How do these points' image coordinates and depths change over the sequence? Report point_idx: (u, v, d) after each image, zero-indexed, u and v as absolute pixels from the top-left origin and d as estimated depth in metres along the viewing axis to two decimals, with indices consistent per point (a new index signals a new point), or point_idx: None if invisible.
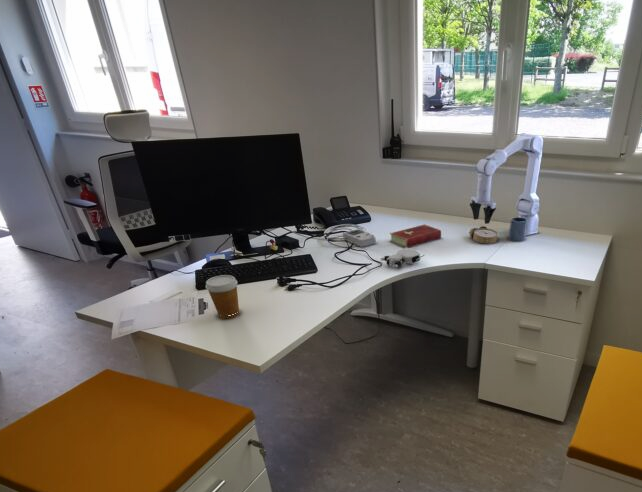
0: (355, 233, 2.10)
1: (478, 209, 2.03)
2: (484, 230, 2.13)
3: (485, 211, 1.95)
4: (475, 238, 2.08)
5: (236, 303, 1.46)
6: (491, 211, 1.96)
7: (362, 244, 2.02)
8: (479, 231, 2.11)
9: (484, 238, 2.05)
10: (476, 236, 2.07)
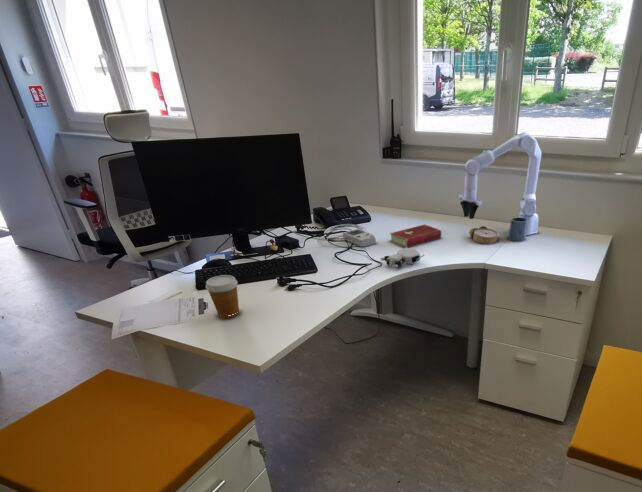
0: (355, 233, 2.10)
1: (468, 207, 2.16)
2: (484, 230, 2.13)
3: (469, 207, 2.10)
4: (475, 238, 2.08)
5: (236, 303, 1.46)
6: (475, 207, 2.12)
7: (362, 244, 2.02)
8: (479, 231, 2.11)
9: (484, 238, 2.05)
10: (476, 236, 2.07)
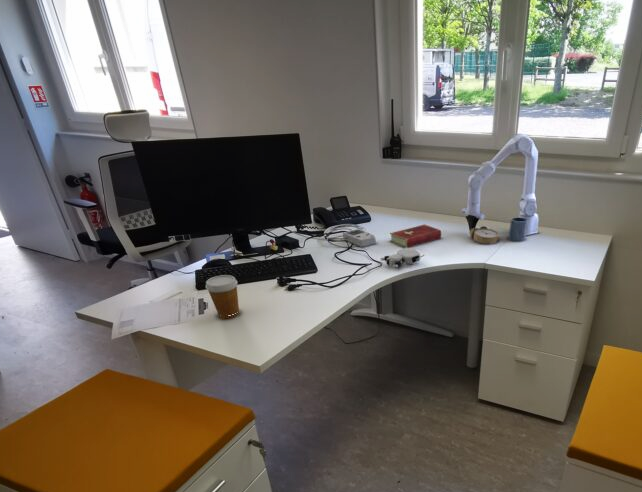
0: (355, 233, 2.10)
1: None
2: (484, 230, 2.12)
3: (470, 220, 2.12)
4: (475, 238, 2.08)
5: (236, 303, 1.46)
6: (476, 220, 2.14)
7: (362, 244, 2.02)
8: (479, 231, 2.11)
9: (484, 238, 2.05)
10: (476, 236, 2.07)
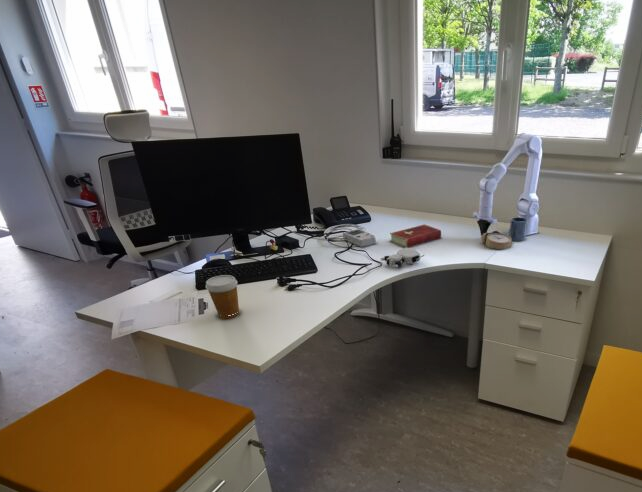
0: (355, 233, 2.10)
1: None
2: (497, 235, 2.06)
3: (482, 225, 2.06)
4: (488, 243, 2.02)
5: (236, 303, 1.46)
6: (487, 224, 2.08)
7: (362, 244, 2.02)
8: (492, 236, 2.05)
9: (498, 243, 1.99)
10: (489, 241, 2.01)
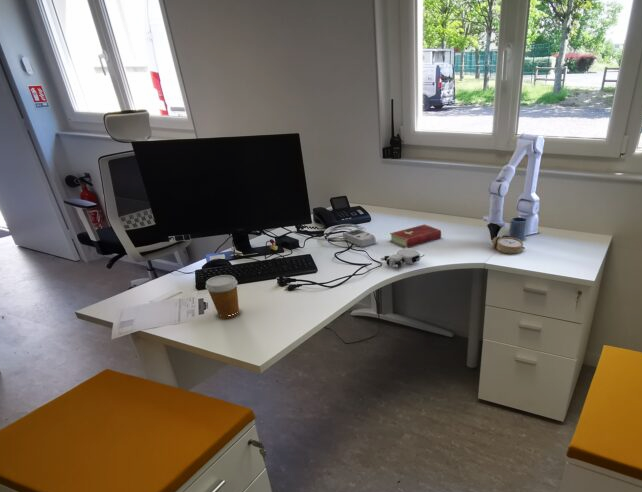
0: (355, 233, 2.10)
1: None
2: (507, 239, 2.02)
3: (492, 228, 2.01)
4: (499, 248, 1.97)
5: (236, 303, 1.46)
6: (498, 228, 2.03)
7: (362, 244, 2.02)
8: (503, 240, 2.00)
9: (509, 248, 1.94)
10: (500, 246, 1.96)
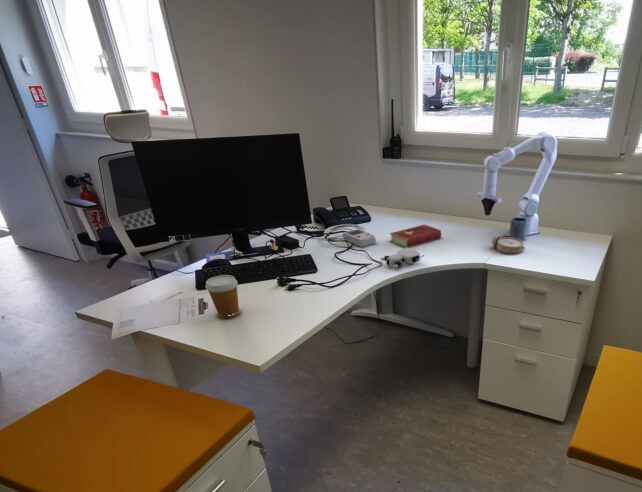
0: (355, 233, 2.10)
1: None
2: (508, 239, 2.02)
3: (486, 203, 2.08)
4: (499, 248, 1.97)
5: (236, 303, 1.46)
6: (492, 203, 2.10)
7: (362, 244, 2.02)
8: (503, 240, 2.00)
9: (509, 248, 1.94)
10: (500, 246, 1.96)
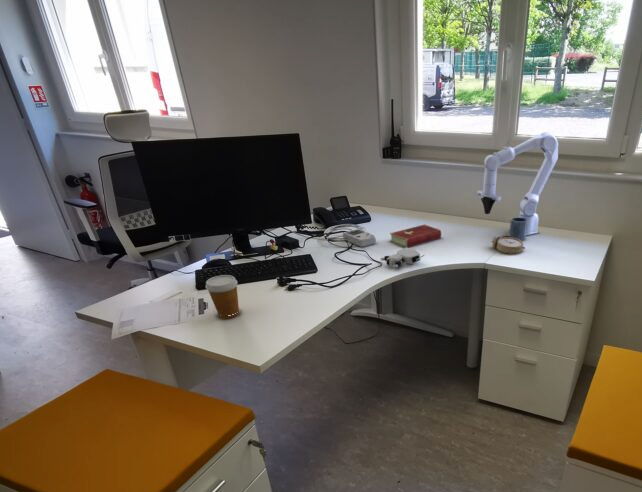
0: (355, 233, 2.10)
1: None
2: (508, 239, 2.02)
3: (486, 202, 2.10)
4: (499, 248, 1.97)
5: (236, 303, 1.46)
6: (491, 202, 2.12)
7: (362, 244, 2.02)
8: (503, 240, 2.00)
9: (509, 248, 1.94)
10: (500, 246, 1.96)
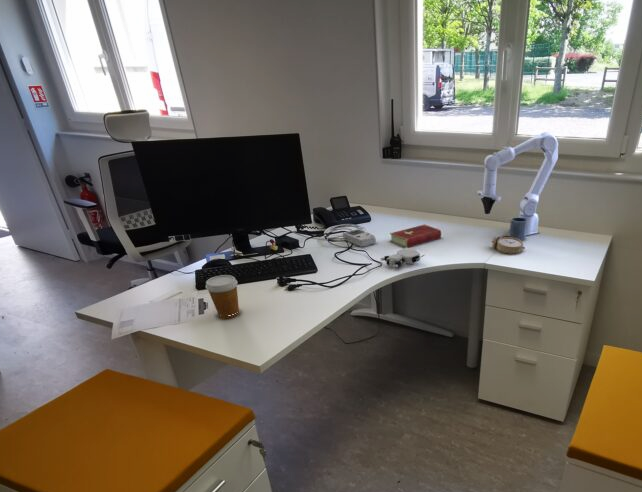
0: (355, 233, 2.10)
1: None
2: (508, 239, 2.02)
3: (486, 202, 2.10)
4: (499, 248, 1.97)
5: (236, 303, 1.46)
6: (491, 202, 2.12)
7: (362, 244, 2.02)
8: (503, 240, 2.00)
9: (509, 248, 1.94)
10: (500, 246, 1.96)
